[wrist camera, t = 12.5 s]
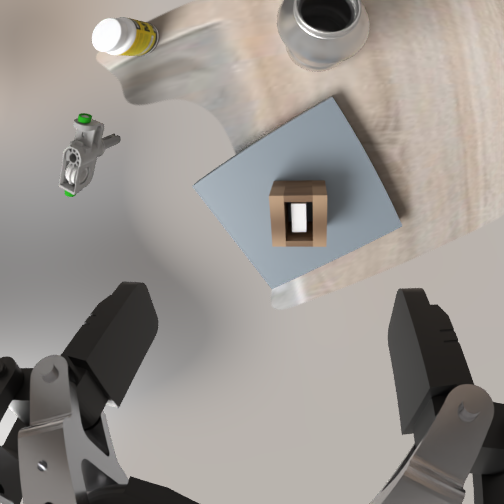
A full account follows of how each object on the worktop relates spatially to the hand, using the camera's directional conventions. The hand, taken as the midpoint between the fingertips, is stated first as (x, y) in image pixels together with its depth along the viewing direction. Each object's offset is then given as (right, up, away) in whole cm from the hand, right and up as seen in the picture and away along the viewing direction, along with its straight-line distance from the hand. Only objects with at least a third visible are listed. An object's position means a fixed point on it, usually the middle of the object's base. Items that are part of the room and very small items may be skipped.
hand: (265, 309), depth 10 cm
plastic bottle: (+7, +25, +19) cm, 32 cm away
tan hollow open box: (+5, +8, +28) cm, 29 cm away
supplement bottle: (-14, +29, +21) cm, 38 cm away
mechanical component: (-19, +18, +29) cm, 39 cm away
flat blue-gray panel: (+6, +9, +29) cm, 31 cm away
